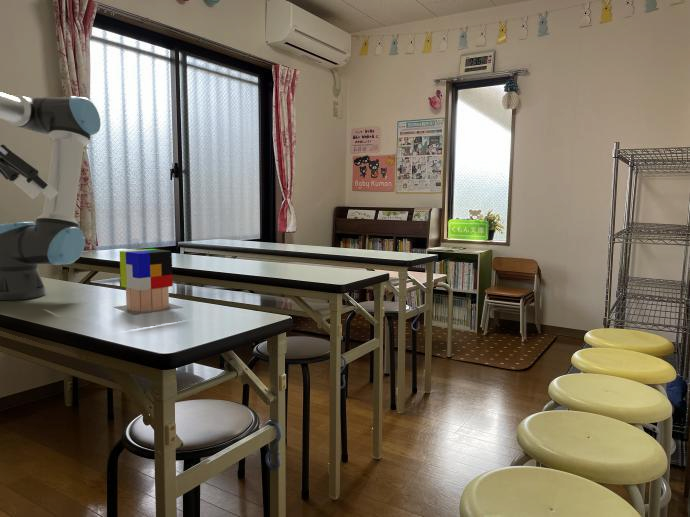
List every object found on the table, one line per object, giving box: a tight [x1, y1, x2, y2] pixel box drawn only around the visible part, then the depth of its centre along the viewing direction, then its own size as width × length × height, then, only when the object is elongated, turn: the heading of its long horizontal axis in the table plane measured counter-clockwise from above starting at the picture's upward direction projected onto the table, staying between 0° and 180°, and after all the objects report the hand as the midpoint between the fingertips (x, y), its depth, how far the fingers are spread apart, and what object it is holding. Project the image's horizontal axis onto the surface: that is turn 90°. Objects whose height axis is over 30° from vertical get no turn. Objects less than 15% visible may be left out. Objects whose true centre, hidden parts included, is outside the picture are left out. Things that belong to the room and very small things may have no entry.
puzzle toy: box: [119, 248, 174, 291], centre depth 142 cm, size 10×10×10 cm
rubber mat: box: [113, 302, 184, 316], centre depth 143 cm, size 14×14×1 cm
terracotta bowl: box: [125, 287, 170, 312], centre depth 143 cm, size 11×11×6 cm
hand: (45, 196), depth 136 cm, fingers open, 13 cm apart
